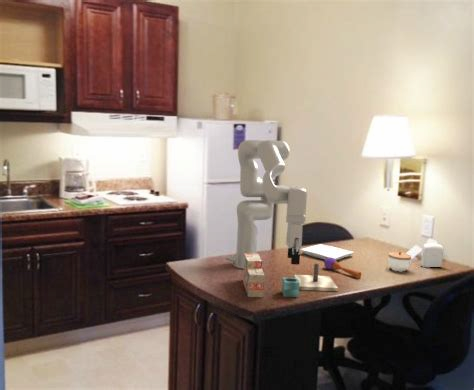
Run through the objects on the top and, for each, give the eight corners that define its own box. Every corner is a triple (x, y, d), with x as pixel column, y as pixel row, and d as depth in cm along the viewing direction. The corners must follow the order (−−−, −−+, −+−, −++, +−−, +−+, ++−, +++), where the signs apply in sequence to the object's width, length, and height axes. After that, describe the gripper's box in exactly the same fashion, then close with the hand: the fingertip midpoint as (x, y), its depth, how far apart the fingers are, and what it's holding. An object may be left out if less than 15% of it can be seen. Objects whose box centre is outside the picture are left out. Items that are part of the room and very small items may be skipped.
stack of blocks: (263, 297, 197) (265, 267, 195) (247, 297, 197) (249, 267, 195) (256, 280, 218) (258, 253, 216) (242, 280, 218) (244, 252, 216)
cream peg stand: (299, 289, 209) (301, 267, 207) (293, 277, 224) (295, 257, 223) (337, 291, 209) (339, 269, 208) (329, 279, 225) (330, 258, 224)
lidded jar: (382, 266, 251) (384, 248, 249) (402, 266, 253) (404, 248, 252) (393, 273, 240) (395, 254, 239) (413, 273, 243) (415, 254, 241)
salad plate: (354, 257, 267) (355, 251, 267) (334, 264, 251) (334, 257, 251) (320, 249, 281) (321, 243, 280) (299, 255, 265) (299, 249, 265)
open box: (283, 296, 199) (284, 282, 198) (281, 291, 205) (282, 277, 204) (298, 297, 200) (299, 282, 199) (296, 292, 206) (297, 278, 205)
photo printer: (422, 267, 254) (425, 244, 252) (419, 265, 258) (422, 242, 256) (442, 268, 253) (445, 245, 252) (439, 266, 258) (442, 243, 256)
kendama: (355, 271, 226) (321, 257, 241) (354, 283, 228) (321, 268, 243) (363, 267, 230) (329, 254, 244) (362, 279, 232) (329, 265, 246)
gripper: (283, 215, 206) (281, 255, 208) (289, 222, 189) (286, 266, 191) (301, 215, 207) (299, 256, 209) (309, 223, 189) (306, 267, 192)
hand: (293, 261), depth 200 cm, fingers open, 9 cm apart
